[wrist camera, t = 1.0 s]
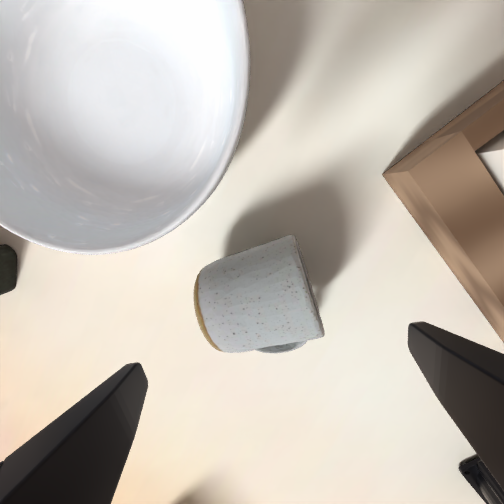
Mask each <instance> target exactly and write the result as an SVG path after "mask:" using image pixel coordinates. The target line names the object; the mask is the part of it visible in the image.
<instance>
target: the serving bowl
mask: <svg viewBox="0 0 504 504" xmlns="http://www.w3.org/2000/svg"><path fill="white" fill-rule="evenodd" d="M249 83H250V42H249V34H248V26H247V19H246V14H245V9H244V4H243V0H0V225H1V226H2V227H4V228H5V229H7V230H9V231H10V232H12V233H14V234H16V235H18V236H19V237H21V238H23V239H26V240H28V241H31V242H33V243H35V244H38V245H41V246H44V247H47V248H51V249H54V250H59V251H63V252H69V253H75V254H88V255H99V254H110V253H117V252H122V251H126V250H131V249H134V248H137V247H140V246H143V245H145V244H148V243H150V242H153V241H155V240H157V239H159V238H161V237H162V236H164V235H166V234H167V233H169V232H171V231H172V230H174V229H175V228H177V227H178V226H179V225H181V224H182V223H183V222H185V221H186V220H187V219H188V218H189V217H190V216H192V215H193V214H194V213H195V212H196V211H197V210H198V209H199V208H200V207H201V206H202V205H203V204H204V202H205V201H206V200H207V199H208V198H209V197H210V195H211V194H212V193H213V191H214V190H215V189H216V187H217V186H218V184H219V183H220V181H221V180H222V178H223V176H224V174H225V173H226V171H227V169H228V167H229V165H230V163H231V160H232V158H233V156H234V153H235V151H236V148H237V145H238V142H239V139H240V135H241V132H242V129H243V124H244V119H245V115H246V108H247V102H248V94H249Z"/></svg>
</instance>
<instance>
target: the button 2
mask: <svg viewBox="0 0 504 504" xmlns="http://www.w3.org/2000/svg"><path fill="white" fill-rule="evenodd" d="M475 153H476V154H477V156H478V157H479V159H480V160H481V162H482V163H483V165H484V166H485V168H486V169H487V171H488V172H489V174H490V176H491V177H492V179H493V180H494V182H495V183H496V185H497V186H498V188H499V189H500V191H501V192H502V194H503V195H504V130H503V131H502V132H501V133H499V134H498V135H496V136H495V137H494V138H492V139H491V140H490V141H488V142H487V143H485V144H484V145H483V146H481V147H480V148H478V149H477V150H476V151H475Z"/></svg>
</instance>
